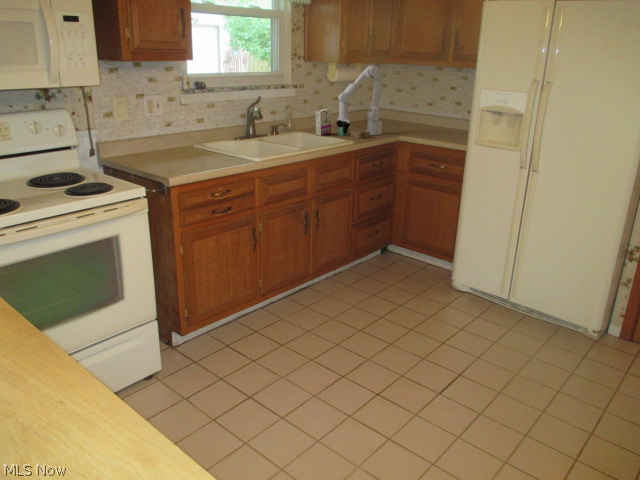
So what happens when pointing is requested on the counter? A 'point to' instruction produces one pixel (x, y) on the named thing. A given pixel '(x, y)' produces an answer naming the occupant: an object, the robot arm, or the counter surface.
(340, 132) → the teal cube
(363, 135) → the walnut block
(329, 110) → the candy bar box
